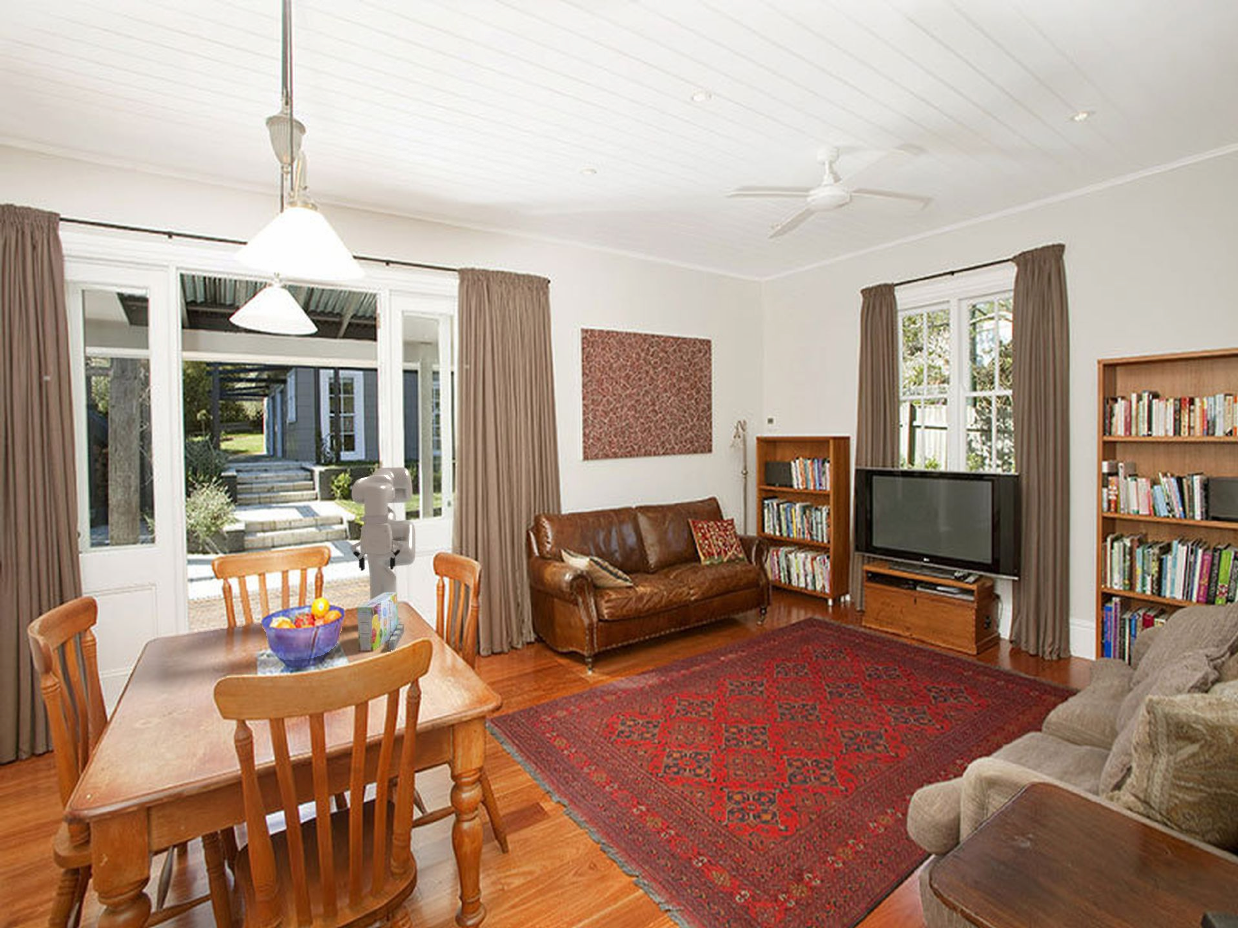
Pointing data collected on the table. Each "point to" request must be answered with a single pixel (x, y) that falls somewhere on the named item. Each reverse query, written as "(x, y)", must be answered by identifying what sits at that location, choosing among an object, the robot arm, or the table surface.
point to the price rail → (396, 637)
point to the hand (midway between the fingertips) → (377, 569)
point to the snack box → (377, 621)
